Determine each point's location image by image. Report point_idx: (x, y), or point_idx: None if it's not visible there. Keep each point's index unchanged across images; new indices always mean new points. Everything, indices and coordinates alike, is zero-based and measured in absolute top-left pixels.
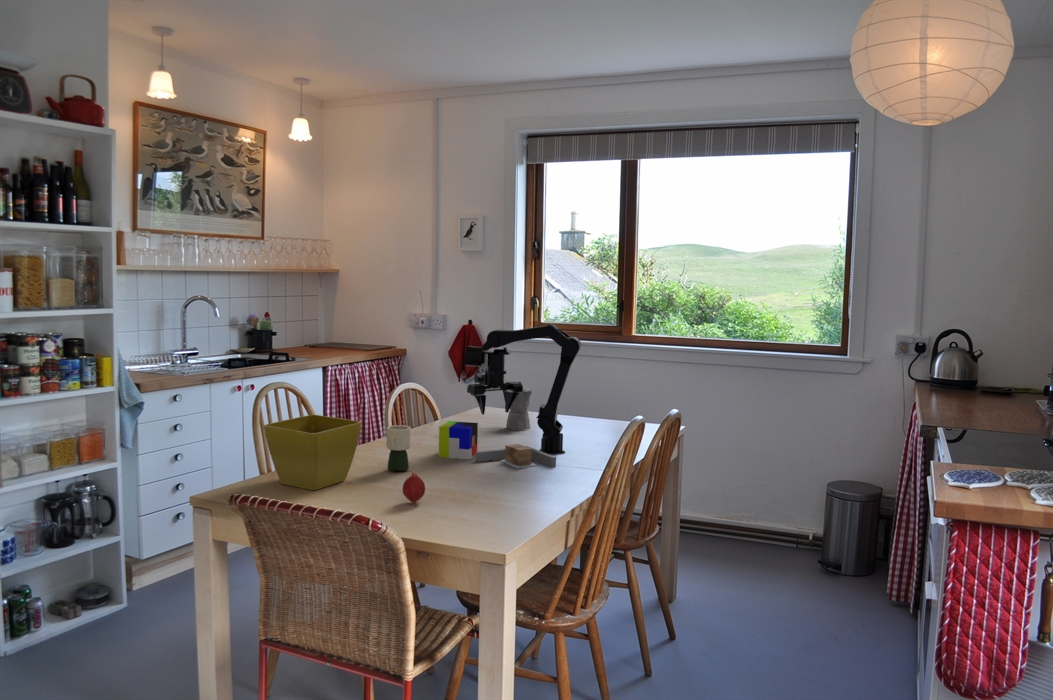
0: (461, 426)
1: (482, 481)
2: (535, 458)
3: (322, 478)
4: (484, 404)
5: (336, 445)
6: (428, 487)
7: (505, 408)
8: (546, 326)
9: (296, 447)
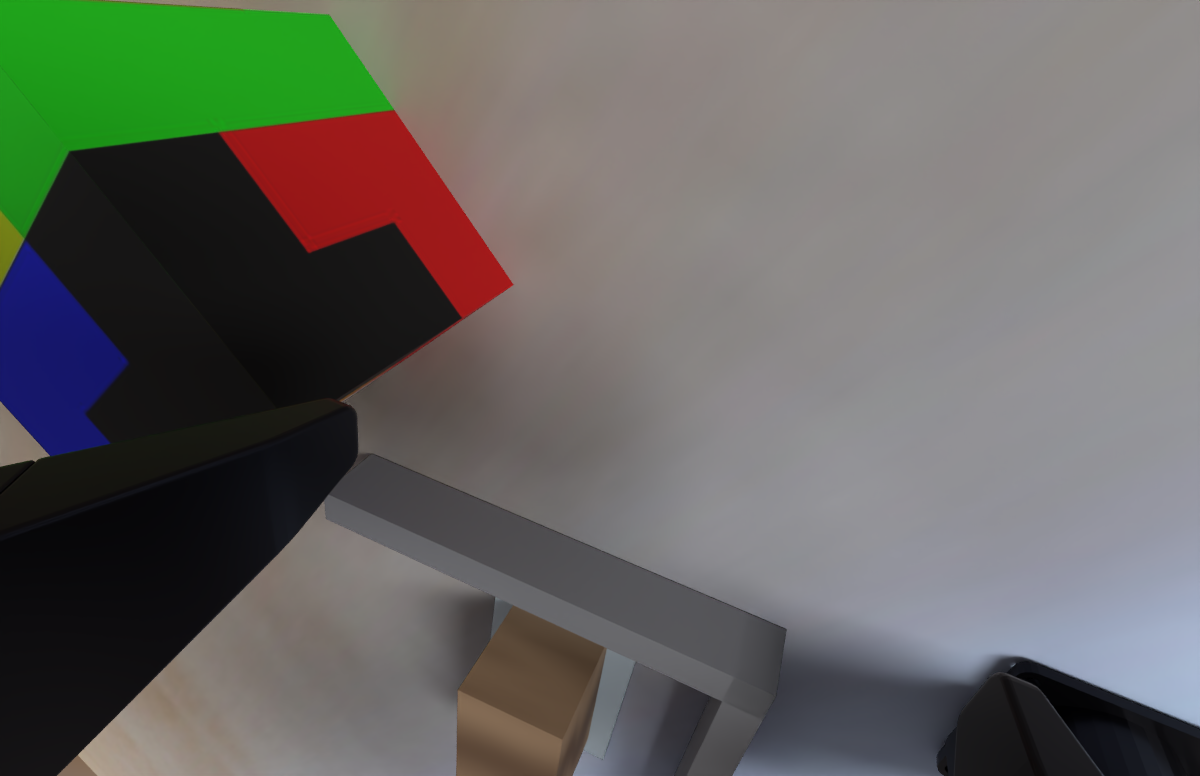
0: (75, 420)
1: (262, 657)
2: (695, 735)
3: None
4: (109, 689)
5: None
6: None
7: (1016, 770)
8: None
9: None
